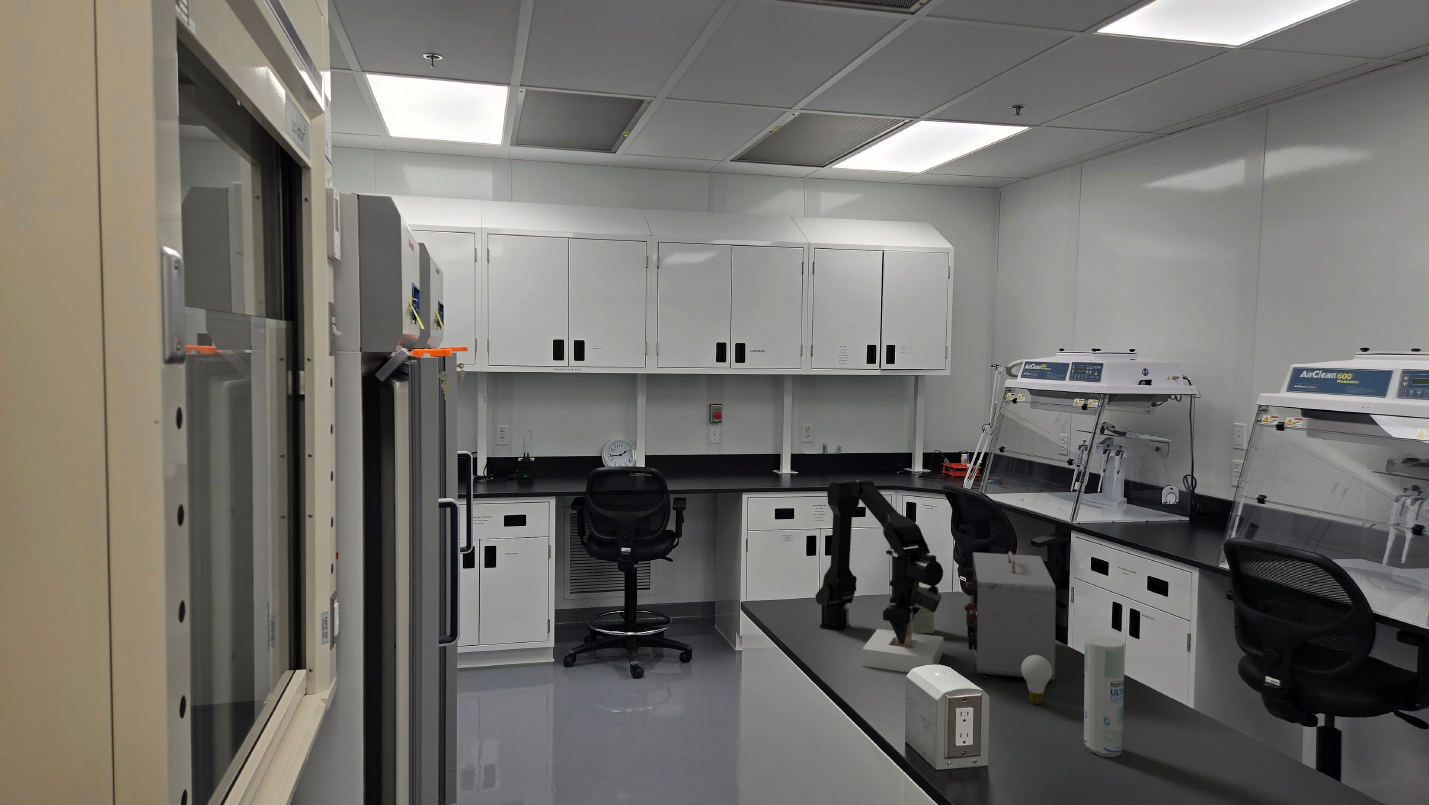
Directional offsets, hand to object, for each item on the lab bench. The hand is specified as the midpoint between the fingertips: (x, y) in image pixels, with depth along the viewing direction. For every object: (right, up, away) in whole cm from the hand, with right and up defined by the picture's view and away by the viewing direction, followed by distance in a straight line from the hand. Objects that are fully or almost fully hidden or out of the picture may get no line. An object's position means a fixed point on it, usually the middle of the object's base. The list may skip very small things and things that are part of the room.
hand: (903, 641), depth 194 cm
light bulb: (+21, -6, -26) cm, 34 cm away
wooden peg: (0, -4, 0) cm, 4 cm away
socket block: (0, -4, 0) cm, 4 cm away
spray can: (+25, -6, -46) cm, 53 cm away
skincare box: (+9, -4, +21) cm, 23 cm away
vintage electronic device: (+24, -5, 0) cm, 25 cm away
